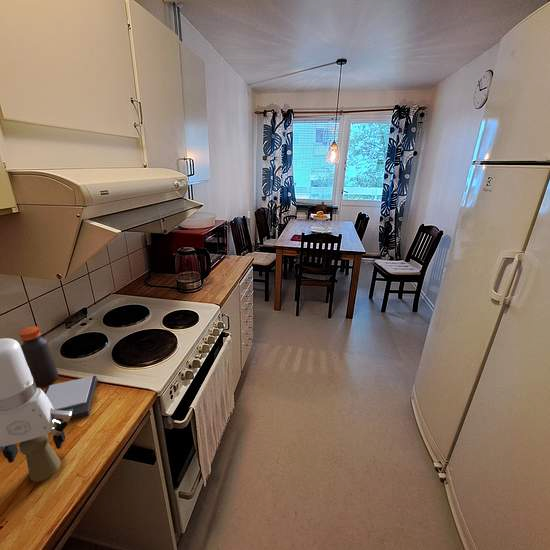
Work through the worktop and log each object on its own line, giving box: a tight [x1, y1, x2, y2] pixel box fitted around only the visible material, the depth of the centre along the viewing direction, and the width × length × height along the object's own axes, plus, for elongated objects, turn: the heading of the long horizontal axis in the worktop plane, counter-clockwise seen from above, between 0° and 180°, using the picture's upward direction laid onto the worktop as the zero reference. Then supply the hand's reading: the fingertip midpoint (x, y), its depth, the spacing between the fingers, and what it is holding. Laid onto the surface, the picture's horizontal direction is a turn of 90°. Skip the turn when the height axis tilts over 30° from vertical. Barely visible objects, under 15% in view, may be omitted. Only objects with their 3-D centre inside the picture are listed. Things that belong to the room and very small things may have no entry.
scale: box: [43, 375, 99, 422], centre depth 88 cm, size 14×16×2 cm
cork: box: [18, 433, 62, 483], centre depth 68 cm, size 6×6×11 cm
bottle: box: [18, 326, 60, 388], centre depth 94 cm, size 7×7×20 cm
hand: (37, 450), depth 67 cm, fingers open, 8 cm apart
